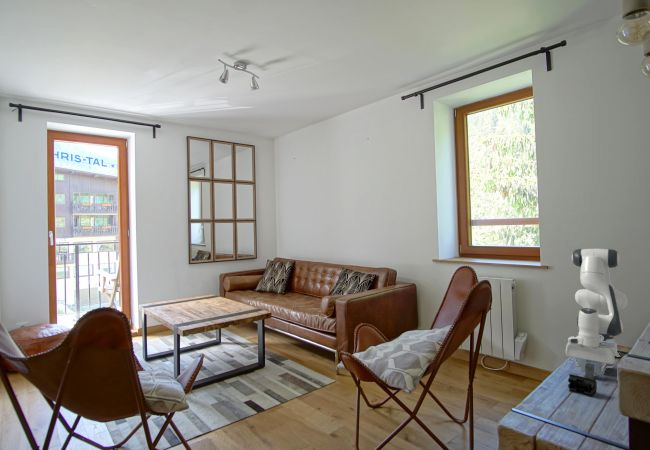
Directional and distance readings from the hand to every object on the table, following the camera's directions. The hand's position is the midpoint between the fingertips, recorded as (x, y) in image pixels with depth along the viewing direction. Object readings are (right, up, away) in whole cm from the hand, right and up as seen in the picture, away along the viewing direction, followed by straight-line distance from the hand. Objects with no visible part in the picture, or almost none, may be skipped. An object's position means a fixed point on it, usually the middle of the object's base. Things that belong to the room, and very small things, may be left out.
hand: (589, 368), depth 183 cm
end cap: (-17, -4, -18) cm, 25 cm away
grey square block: (+11, -5, +12) cm, 17 cm away
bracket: (0, -4, 0) cm, 4 cm away
